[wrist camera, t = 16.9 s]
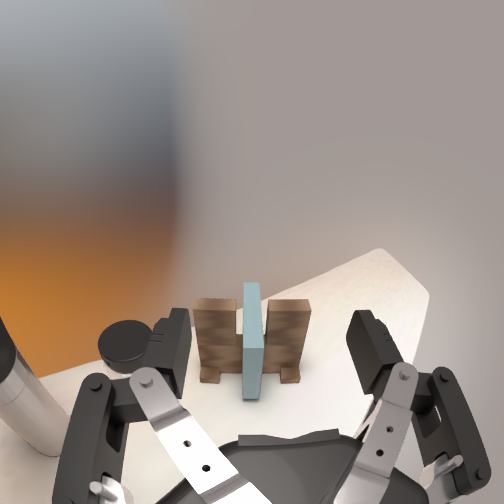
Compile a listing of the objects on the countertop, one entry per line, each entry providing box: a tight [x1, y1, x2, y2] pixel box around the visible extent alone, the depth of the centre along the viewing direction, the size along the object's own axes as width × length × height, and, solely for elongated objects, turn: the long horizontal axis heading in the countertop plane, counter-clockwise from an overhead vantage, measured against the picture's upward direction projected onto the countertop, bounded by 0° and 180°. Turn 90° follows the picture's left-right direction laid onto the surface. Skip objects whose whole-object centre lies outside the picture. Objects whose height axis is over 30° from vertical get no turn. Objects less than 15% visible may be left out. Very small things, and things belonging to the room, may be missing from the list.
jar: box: [98, 320, 152, 380], centre depth 35 cm, size 9×8×12 cm
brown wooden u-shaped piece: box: [193, 298, 311, 383], centre depth 41 cm, size 16×7×14 cm, turn 91°
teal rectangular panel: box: [242, 282, 264, 399], centre depth 41 cm, size 14×2×12 cm, turn 1°
